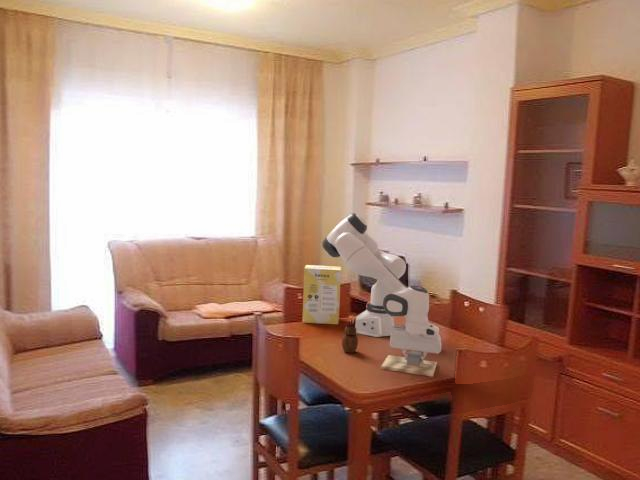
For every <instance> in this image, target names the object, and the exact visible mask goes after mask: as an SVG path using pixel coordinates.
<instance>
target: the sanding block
mask: <svg viewBox="0 0 640 480" xmlns="http://www.w3.org/2000/svg"><path fill="white" fill-rule="evenodd" d="M422 354H423V352H421V351H413V350H409V353H408V354H407V355H408V357H407V367H412V368H419V366H420V363H421V362H420V357H422Z"/></svg>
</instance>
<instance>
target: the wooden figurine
mask: <svg viewBox="0 0 640 480" xmlns="http://www.w3.org/2000/svg"><path fill="white" fill-rule="evenodd" d="M355 323H356V317H354V320H353V318H351V320H349V321H348V322H347V323H346V326H345V327H344V333H345V334H343V336H342V338H341V348H342V349H343V351H344V352H345V353H347V354H348V353H349V354H351V353H355V352H356V351H357V349H358V345H359V338H358V336H357V335H356V334H357V333H356V328H355Z"/></svg>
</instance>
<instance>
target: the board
mask: <svg viewBox="0 0 640 480" xmlns="http://www.w3.org/2000/svg"><path fill="white" fill-rule="evenodd" d="M437 366H438V362H437V361H431V360H425V359H424V362H421V363H420V366H419V368H412V367H407V360H405V356H404V357H403V356H398V355H397V356H396V355H390V354H388V355H387V357H386V358H385V360H384V361H383V363H382V365H381V366H380V368H381V370H385V371H386V370H388V371H393V372H400V373H406V374H413V375H420V376H427V377H433V378H434V374H435V372H436V368H437Z"/></svg>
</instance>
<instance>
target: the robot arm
mask: <svg viewBox="0 0 640 480" xmlns="http://www.w3.org/2000/svg"><path fill="white" fill-rule="evenodd" d="M367 230H368V225H367V222H366V221H365V219H364V217H362V216H361V215H359V214H357V213H355V212H354V213H350V214H348V215H347V216H346V217H345V218H344V219H343V220H342V221H340V222H339V223H338V224H336V226H335V227H334V228H333V229H332V230H331V232H329V233H328V235H327V236H325V237H324V239H323V241H322V243H321V244H322V248H323V250H324V252H325V253H326V254H327V255H328V256H330V257H332V258H339V257H341V259H342V260H343V262H344V263H345V264H346V265H347V266H348V268H349V269H350V270H351V271H352V272H353V273H354V274H356V275H359V276H362V277H368V278H372V279H375V280H376V282H375V283H374V284H373V285H372V286H371V290H370V291H371V292H370V300H369V301H367V303H366V306H365V308H366V309H365V310H364V311H362V312H361V313H359V314H358V315H357V316H356V317H355V318H356V323H355V328H356V334H358V335H364V336H368V337H369V336H370V337H375V338H380V337H388V336H389V337H390V338H389V345H388V346H389V347H390V348H392V349H401V350H402V351H401V352H402V354H403V356H404V357H405V360H407V357H408V355H409V354H408V353H407V351H415V352H422V354H423V355H422V356H421V357H420V362H424V360H425V358H426V356H427V355H428V353H430V354H437V355H438V354H440V353H441V351H442V341H441V340H442V338H441V335H440V333H439V332H440V328H439V326H437V325H435V324H432V323H430V322H429V318H428V314H429V310H430V294H429V291H428V290H427V289H426V288H425V287H423V286H419V285H409V286H407V285H406V284H404V283H403V282H402V281H401V280H400V279H401V277H402V276H403V275H404V274H405V273H406V269H407V265H406V261H405V260H404V259H403V258H402V257H400V256H398V255H396V254H392V253H388V252H385V251H383V250H381V249H380V247H379V246H378V243H377V241H376V240H374V239H373V238H372V237H371V236H370V235H369V234H368V233H366V231H367ZM394 317H404V318H405V319H404V320H405V321H404V322H405V323H404V324H403V325H399V324H395V323H394Z"/></svg>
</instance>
